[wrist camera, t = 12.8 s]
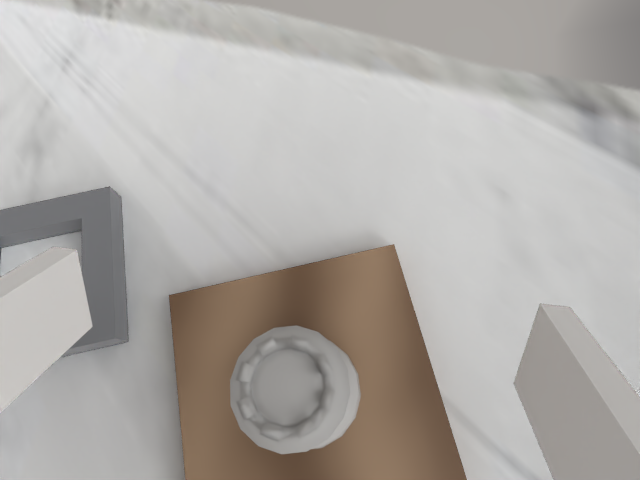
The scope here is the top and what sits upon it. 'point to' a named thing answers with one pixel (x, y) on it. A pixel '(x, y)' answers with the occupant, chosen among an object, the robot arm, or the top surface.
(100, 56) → the top surface
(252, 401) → the rook chess piece
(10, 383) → the robot arm
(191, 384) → the walnut pad
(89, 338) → the gray slotted board
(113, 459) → the top surface
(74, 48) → the top surface
